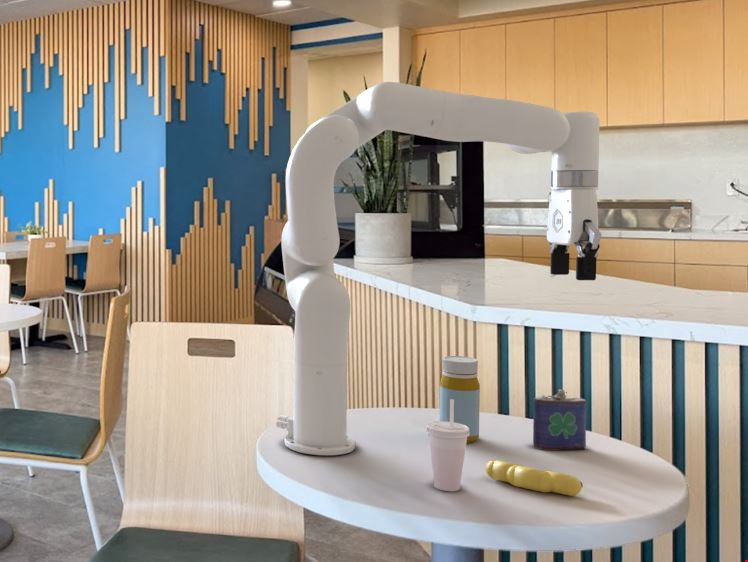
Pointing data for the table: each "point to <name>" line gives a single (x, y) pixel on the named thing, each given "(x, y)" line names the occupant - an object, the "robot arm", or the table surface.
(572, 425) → the flask
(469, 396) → the bottle
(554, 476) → the yellow lumpy bar
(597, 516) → the table surface
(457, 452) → the smoothie
